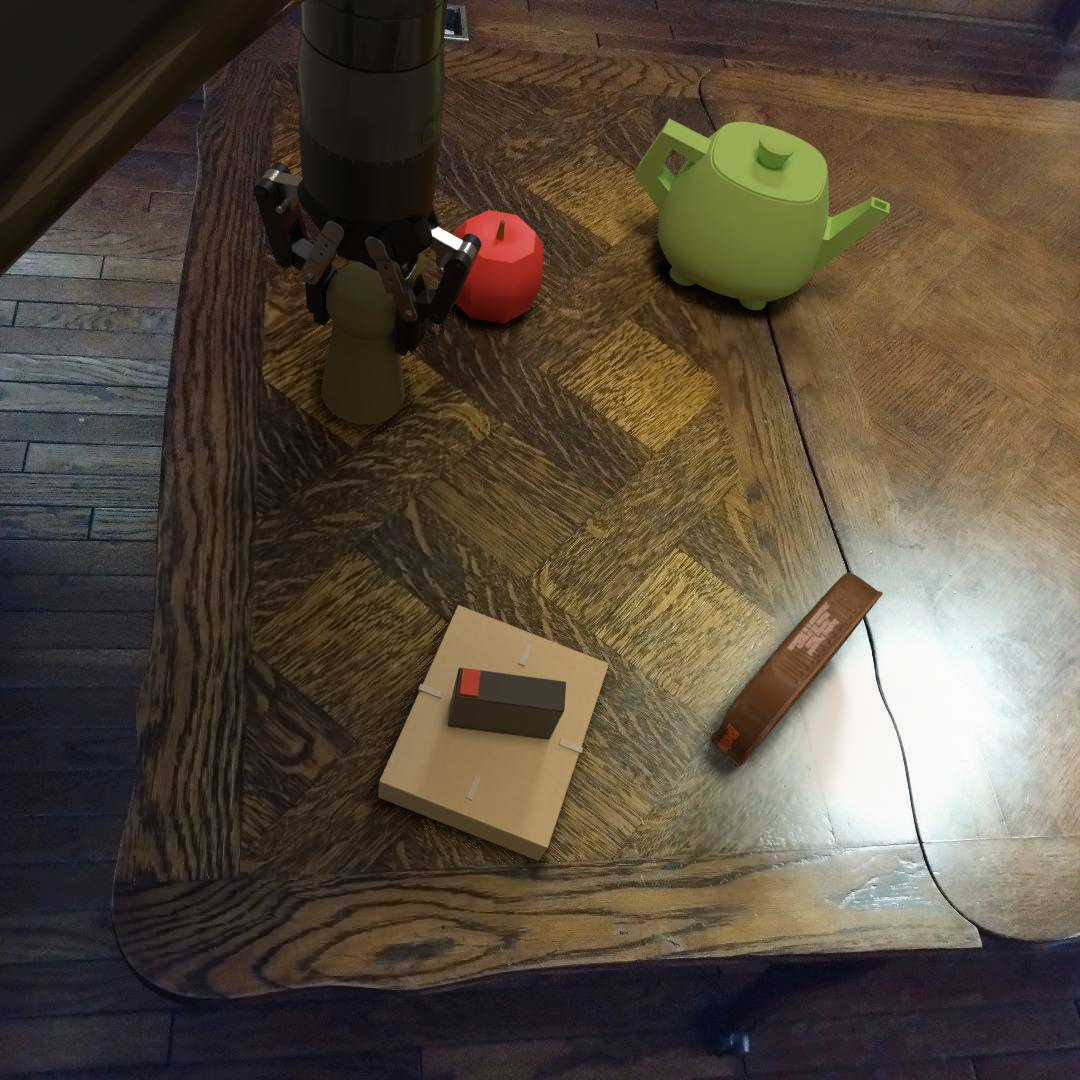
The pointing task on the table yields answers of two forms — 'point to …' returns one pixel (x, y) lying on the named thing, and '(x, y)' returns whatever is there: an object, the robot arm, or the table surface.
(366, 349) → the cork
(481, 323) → the table surface
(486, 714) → the red tipped black brick
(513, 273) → the apple
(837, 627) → the tin
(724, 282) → the teapot
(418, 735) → the panel
